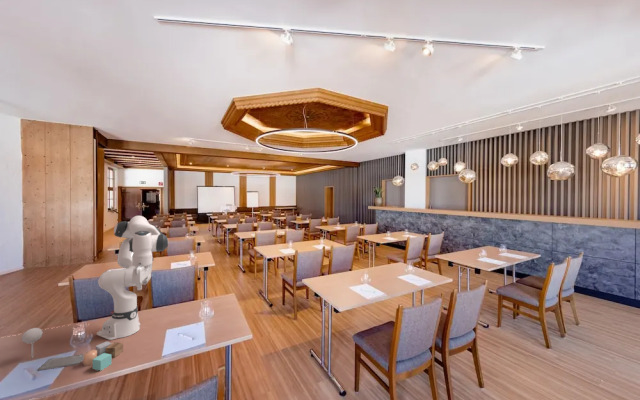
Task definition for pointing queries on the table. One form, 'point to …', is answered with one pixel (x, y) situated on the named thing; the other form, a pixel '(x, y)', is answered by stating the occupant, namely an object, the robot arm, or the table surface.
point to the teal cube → (102, 361)
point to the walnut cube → (114, 349)
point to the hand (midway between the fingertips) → (142, 287)
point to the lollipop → (32, 337)
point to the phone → (61, 362)
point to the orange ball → (89, 357)
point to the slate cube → (102, 347)
